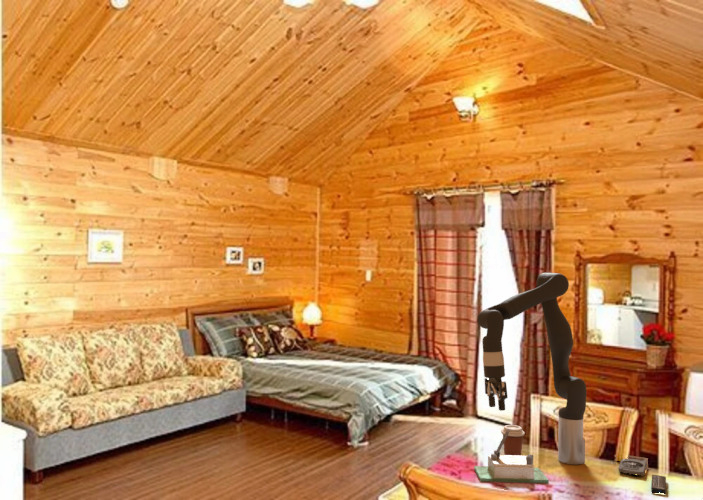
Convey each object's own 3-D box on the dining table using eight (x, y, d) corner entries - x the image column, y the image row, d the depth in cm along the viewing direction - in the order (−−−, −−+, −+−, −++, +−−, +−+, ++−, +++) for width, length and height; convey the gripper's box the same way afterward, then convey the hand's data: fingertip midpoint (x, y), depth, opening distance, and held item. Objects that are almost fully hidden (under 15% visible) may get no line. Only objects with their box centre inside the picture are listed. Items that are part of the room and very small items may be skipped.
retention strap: (495, 458, 220) (492, 457, 220) (497, 456, 222) (494, 454, 223) (508, 432, 218) (506, 430, 218) (510, 430, 220) (508, 428, 221)
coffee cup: (524, 462, 234) (524, 431, 234) (500, 459, 237) (500, 429, 237) (524, 454, 243) (524, 425, 243) (501, 452, 246) (501, 423, 246)
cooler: (538, 470, 225) (538, 448, 225) (548, 483, 212) (548, 459, 212) (474, 469, 225) (474, 446, 225) (480, 481, 213) (480, 457, 213)
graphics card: (614, 452, 238) (648, 457, 232) (615, 462, 238) (648, 467, 232) (609, 465, 223) (645, 470, 217) (610, 475, 223) (645, 481, 217)
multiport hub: (665, 482, 215) (665, 476, 215) (665, 496, 202) (665, 489, 203) (652, 480, 217) (652, 474, 217) (651, 494, 205) (651, 487, 205)
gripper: (511, 364, 215) (515, 410, 214) (495, 361, 229) (498, 404, 228) (492, 366, 214) (495, 412, 212) (476, 363, 228) (479, 406, 226)
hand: (497, 408), depth 220 cm, fingers open, 8 cm apart
